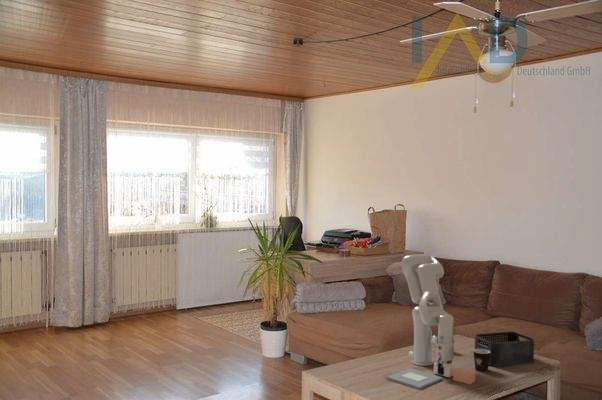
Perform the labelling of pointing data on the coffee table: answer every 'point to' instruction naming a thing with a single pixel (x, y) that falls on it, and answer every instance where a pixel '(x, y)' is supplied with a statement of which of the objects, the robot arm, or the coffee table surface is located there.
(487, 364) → the coffee mug
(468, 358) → the coffee table surface
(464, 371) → the terracotta block
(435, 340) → the giant panda
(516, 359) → the storage bin
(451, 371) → the cream block
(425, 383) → the build board
